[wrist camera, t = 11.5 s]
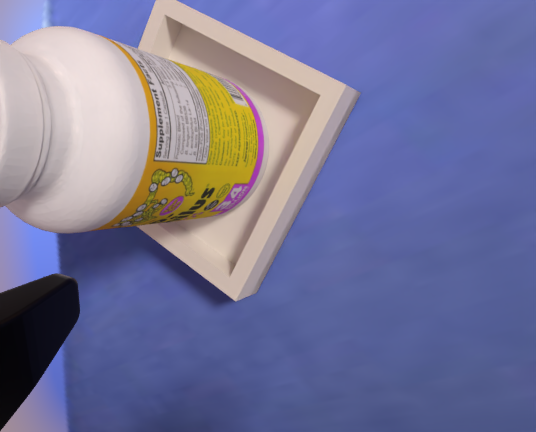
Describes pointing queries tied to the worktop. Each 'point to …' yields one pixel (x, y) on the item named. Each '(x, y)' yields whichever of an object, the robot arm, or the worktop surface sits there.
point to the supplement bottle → (120, 135)
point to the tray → (280, 144)
